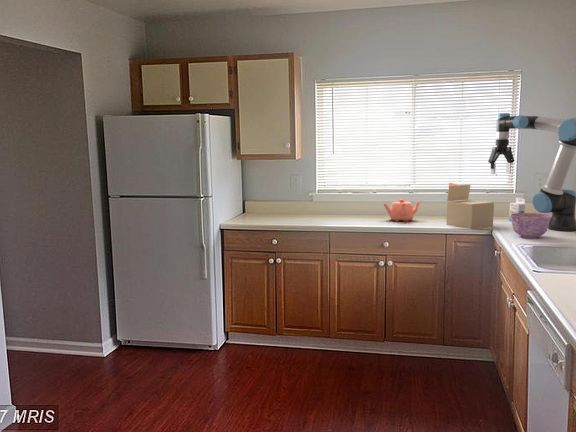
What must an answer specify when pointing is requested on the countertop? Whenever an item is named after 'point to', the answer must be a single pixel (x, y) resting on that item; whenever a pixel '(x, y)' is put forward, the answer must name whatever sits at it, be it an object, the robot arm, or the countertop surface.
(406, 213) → the teapot
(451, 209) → the carton
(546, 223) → the purple speckled bowl
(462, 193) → the flap
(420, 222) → the countertop surface
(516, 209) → the ink box
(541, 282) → the countertop surface
